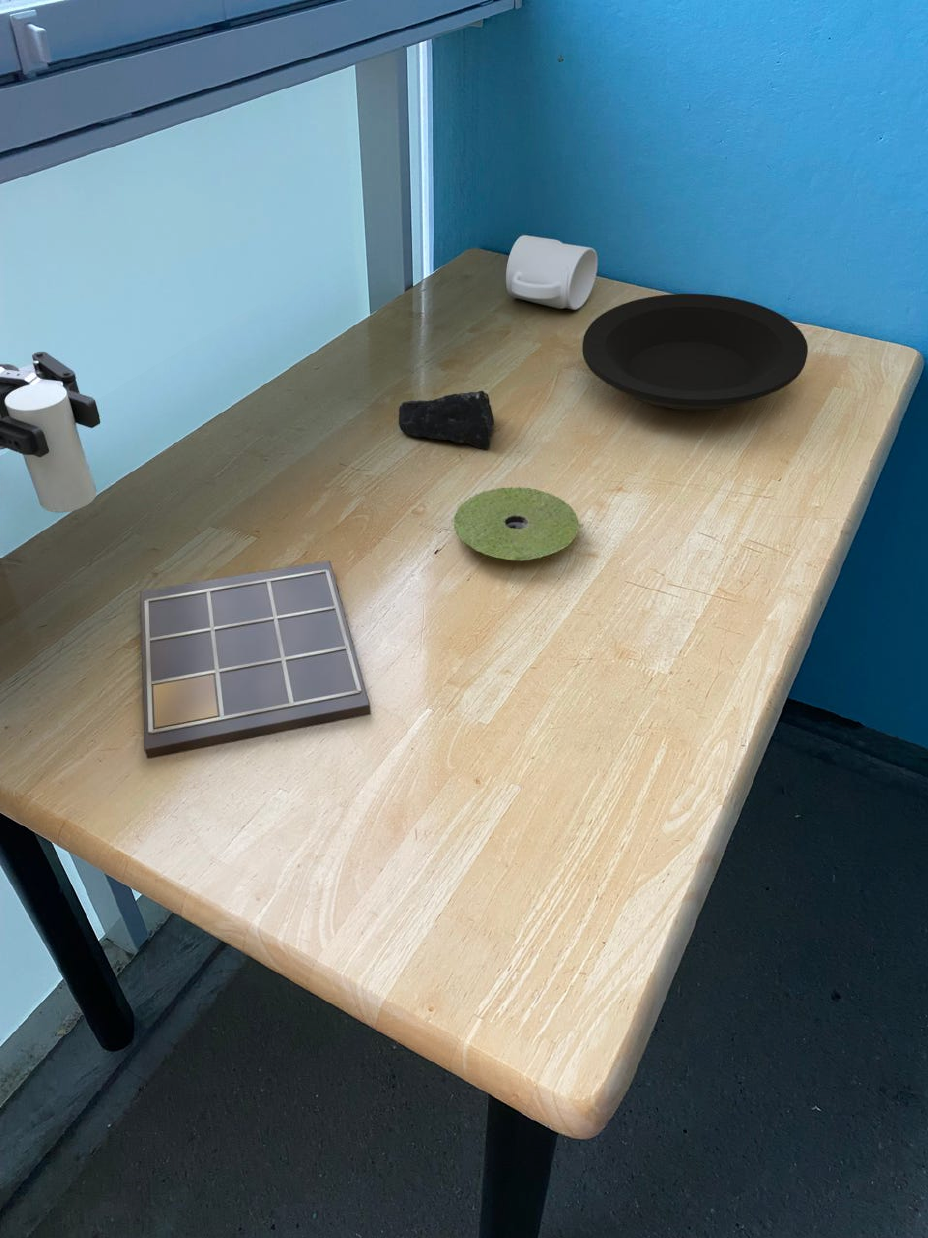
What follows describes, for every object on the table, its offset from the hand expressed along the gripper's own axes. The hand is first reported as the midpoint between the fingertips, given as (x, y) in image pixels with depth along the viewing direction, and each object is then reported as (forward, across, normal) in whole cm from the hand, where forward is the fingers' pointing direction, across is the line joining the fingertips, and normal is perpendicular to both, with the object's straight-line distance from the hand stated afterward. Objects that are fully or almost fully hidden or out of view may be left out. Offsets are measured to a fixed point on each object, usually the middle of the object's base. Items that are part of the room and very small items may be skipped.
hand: (68, 428), depth 70 cm
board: (+15, -1, +15) cm, 22 cm away
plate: (+31, +59, +15) cm, 68 cm away
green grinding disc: (+27, +23, +15) cm, 38 cm away
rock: (+12, +36, +15) cm, 41 cm away
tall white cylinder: (-3, 0, +7) cm, 8 cm away
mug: (+6, +72, +15) cm, 74 cm away
